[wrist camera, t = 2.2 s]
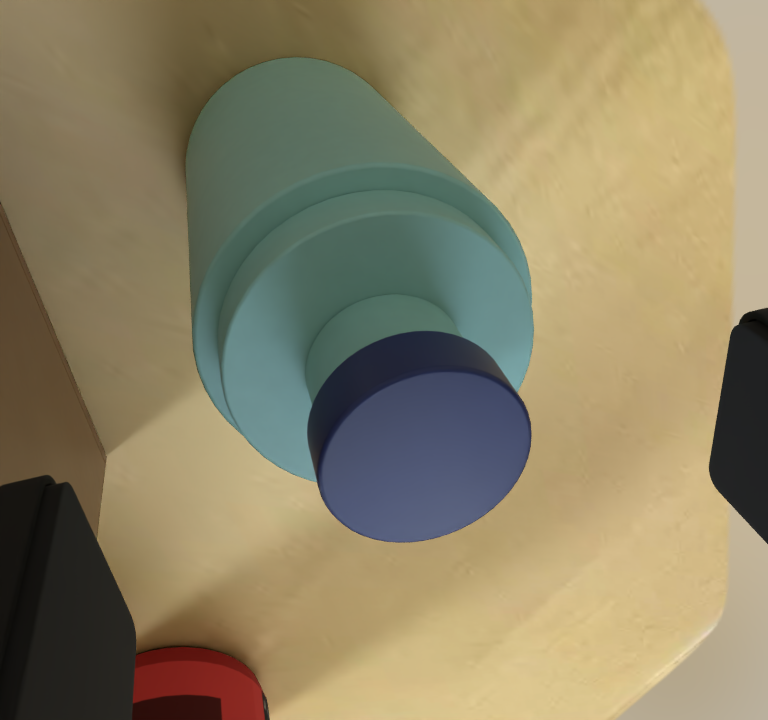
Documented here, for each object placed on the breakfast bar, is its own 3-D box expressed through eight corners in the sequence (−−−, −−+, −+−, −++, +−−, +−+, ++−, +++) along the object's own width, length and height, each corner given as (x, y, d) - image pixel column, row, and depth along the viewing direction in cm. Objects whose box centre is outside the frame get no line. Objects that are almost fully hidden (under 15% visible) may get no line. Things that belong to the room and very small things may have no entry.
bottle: (158, 77, 18) (136, 316, 8) (393, 39, 19) (654, 209, 9) (215, 292, 21) (253, 658, 11) (413, 251, 22) (619, 557, 12)
